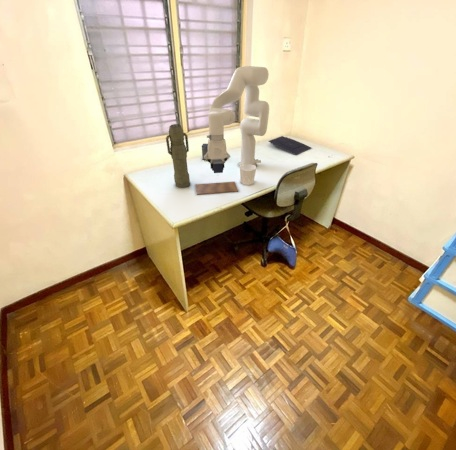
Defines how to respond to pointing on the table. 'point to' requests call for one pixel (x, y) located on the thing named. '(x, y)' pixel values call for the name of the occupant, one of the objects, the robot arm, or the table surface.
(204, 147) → the small box
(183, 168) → the thermos
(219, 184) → the mat
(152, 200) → the table surface
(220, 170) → the block
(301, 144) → the black flat slab
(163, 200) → the table surface
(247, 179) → the cup
